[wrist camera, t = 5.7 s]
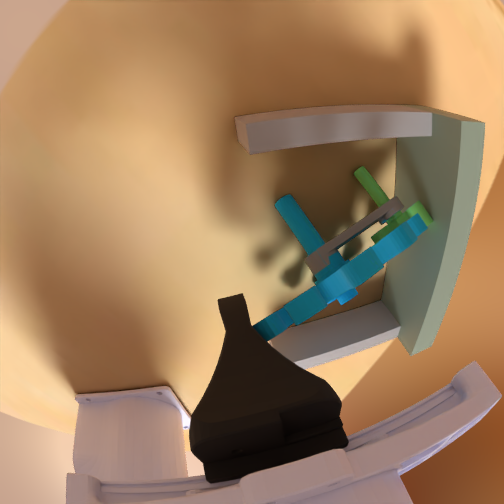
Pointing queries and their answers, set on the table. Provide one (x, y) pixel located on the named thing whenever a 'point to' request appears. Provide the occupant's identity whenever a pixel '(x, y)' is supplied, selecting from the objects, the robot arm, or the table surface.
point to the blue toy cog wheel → (330, 260)
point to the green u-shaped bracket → (409, 192)
